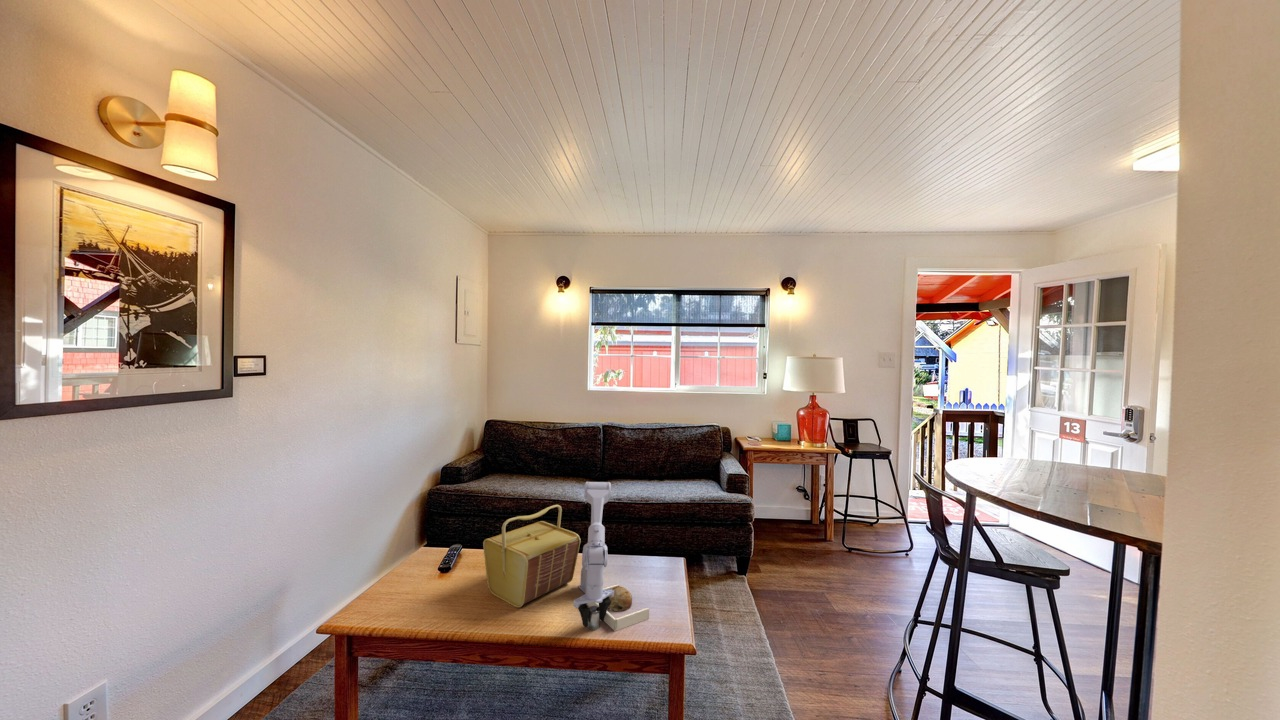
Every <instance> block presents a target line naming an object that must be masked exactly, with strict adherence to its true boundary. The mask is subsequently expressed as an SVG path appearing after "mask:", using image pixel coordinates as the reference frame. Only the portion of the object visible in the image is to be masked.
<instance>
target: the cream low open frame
mask: <svg viewBox="0 0 1280 720" xmlns="http://www.w3.org/2000/svg"><path fill="white" fill-rule="evenodd" d="M617 586H620V584H618V583H617V584H615V585H611V586H608V587H604V589H603V590H608V589H613V588H614V587H617ZM587 605H588V608H589V607H590V606H597V607H599V603H596V602H594V603H588V604H587ZM649 619H650V608H649V607H646V608H643V609H639V610H637V611H634V612H631V613H628V614H626V615H622V616H620V617H617V618H616V617H615V616H614V615H612V613H610V612H609V611H608V610H607V612H606V614H605V618H604V621H603V622H604V623H606V625H608V626H609V628H611V629H612V630H613V631H614V632H617V631H618V630H619V631H620V630H623V629H625V628H627V627H631V626H633V625H636V624H638V623H641V622H644V621H646V620H649Z"/></svg>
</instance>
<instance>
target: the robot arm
mask: <svg viewBox="0 0 1280 720" xmlns="http://www.w3.org/2000/svg"><path fill="white" fill-rule="evenodd" d="M611 489H612V483H611V482H610V481H586V482H584V499H585V501H586V502H587V503H588V504H590V506H591V507H590V509H591V512H590V515H591V516H590V525H589V526H588V529H587V530H588V532H587V534H588V535H587V542H586V543H585V544H584V545H583V547H582V555H581V557H582V558H581V569H580V584H579V585H578V586H577V587H578V588H579V589H580V590H581V591H582V592H583V593H584V594H583V595H581V596H580V597H578V598H576V599H574V600H573V608H575V609H578V611H579V615H580V617H581V623H582V626H583V627H584V628H587V626H588V615H589V611H590V609H589V606H588V605H587V604H588V603H594V602H596V603H599V608H600V616H599V621H600V622H605V621H604V618H605V614H606V612H607V611H608V609H609V608H608V607H609V606H610V604H611V600H610V599H609V597H614V591H613V590H612V589H608V590H603V589H604V588H605V587H604V575H605V568H607V566H608V556H609V554H608V546H607V544H606V543H605V542H606V540H605V539H606V537H605V536H606V534H605V533H606V527H605V526H604V525H603V524H602V521H603V510H604V505H605V504H607V503H608V502H609V500H610V498H611V495H612V494H611V493H612V492H611V491H612V490H611Z"/></svg>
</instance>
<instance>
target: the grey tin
mask: <svg viewBox="0 0 1280 720" xmlns="http://www.w3.org/2000/svg"><path fill="white" fill-rule="evenodd" d="M588 608H589V609H590V611H589V615H588V626H587V627H586V629H587V630H588V631H591V632H592V631H597V630H599V628H600V619H599V616H600V608H599V607H597V606H590V607H589V606H588Z"/></svg>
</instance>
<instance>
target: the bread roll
mask: <svg viewBox="0 0 1280 720" xmlns="http://www.w3.org/2000/svg"><path fill="white" fill-rule="evenodd" d="M612 590H613V591H614V597H609V599H610V600H611V604H610V606H609V607H608V609H610V610H612V611H614V612H621V611H627V610H629V609H631V607H632V605H633V595H632V594H631V592H630V590H629V589H627V588H626V587H624V586H622V585H621V586H620V585H619V586H617V587H614V588H613V589H612Z"/></svg>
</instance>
